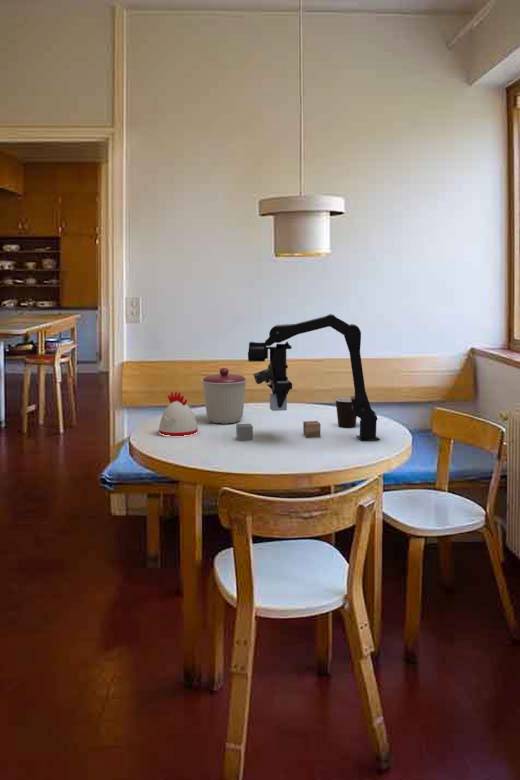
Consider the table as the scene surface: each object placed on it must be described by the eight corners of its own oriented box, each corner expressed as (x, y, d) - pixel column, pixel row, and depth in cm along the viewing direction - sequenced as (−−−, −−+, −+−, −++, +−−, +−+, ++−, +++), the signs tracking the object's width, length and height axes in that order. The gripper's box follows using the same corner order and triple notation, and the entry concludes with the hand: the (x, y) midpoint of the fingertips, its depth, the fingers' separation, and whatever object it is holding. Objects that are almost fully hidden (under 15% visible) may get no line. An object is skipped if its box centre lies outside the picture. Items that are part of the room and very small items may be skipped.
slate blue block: (286, 410, 255) (286, 396, 254) (272, 410, 254) (272, 396, 253) (283, 407, 260) (283, 393, 259) (269, 408, 259) (269, 394, 258)
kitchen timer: (175, 427, 277) (174, 388, 275) (205, 431, 270) (204, 391, 268) (151, 434, 265) (150, 393, 263) (182, 438, 258) (181, 396, 256)
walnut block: (320, 437, 259) (320, 423, 258) (306, 438, 258) (306, 424, 257) (316, 434, 263) (317, 420, 263) (303, 435, 263) (303, 421, 262)
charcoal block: (252, 440, 255) (252, 426, 254) (238, 441, 254) (238, 427, 253) (250, 437, 260) (250, 423, 259) (236, 438, 259) (236, 424, 258)
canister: (247, 416, 297) (247, 364, 293) (248, 426, 279) (248, 370, 275) (202, 417, 296) (201, 365, 293) (200, 426, 278) (199, 371, 275)
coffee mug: (351, 429, 271) (351, 402, 269) (331, 426, 276) (331, 400, 275) (366, 424, 280) (366, 398, 279) (346, 421, 285) (347, 396, 284)
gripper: (250, 359, 262) (251, 402, 265) (259, 365, 244) (259, 412, 246) (281, 358, 264) (281, 401, 266) (292, 364, 246) (292, 410, 248)
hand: (278, 406), depth 257 cm, fingers closed on slate blue block, 5 cm apart
